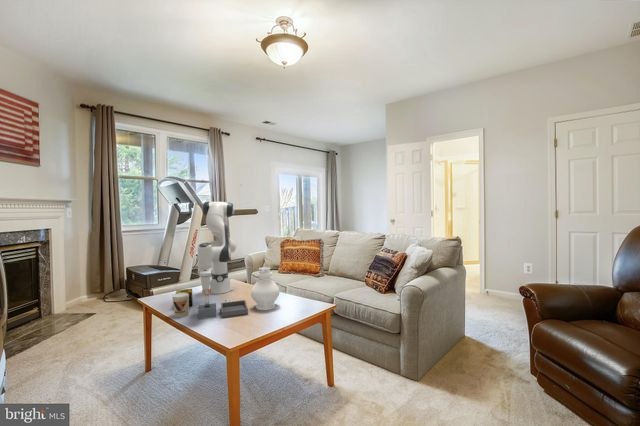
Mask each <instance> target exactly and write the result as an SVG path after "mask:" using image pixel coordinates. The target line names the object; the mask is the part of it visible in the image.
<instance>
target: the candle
mask: <svg viewBox="0 0 640 426" xmlns="http://www.w3.org/2000/svg"><path fill="white" fill-rule="evenodd" d="M179 293H188V294H189V308H192V307H193V304H194V302H193V301H194V300H193V288H184V289H183V288H182V289H176V292H175V294H179ZM175 294H174V295H175Z"/></svg>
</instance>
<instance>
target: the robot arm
mask: <svg viewBox="0 0 640 426" xmlns="http://www.w3.org/2000/svg"><path fill="white" fill-rule="evenodd" d="M235 210H236V209H235V206H234V204H233V203H232V202H226V201H205V202H203V204H202V206H201V211H202V214H203V216H204V217H205V216H206V219H205V225H206V228H207V229H208V230H210V231H211V234H212V235H213V236H215V237H216V238H219V240H211V241H206V242H203V243H200V244H198V246H197V254H196V255H197V261H198V264H197V274H198V275H199V277H200V281H201V289H202V290H205V294H208V289H211V295H212V294H216V295H217V294H219V295H220V294H225V293H228V292H231V291H234V288H233V287H232V286H231V279H230V278H229V271H228V262H229V261H230V260H231V257H232V254H233V253H235V251H236V249H237V244H236V242H235V241H234V240H233V239H232V238H231V237H230V234H229V233H230V232H229V228H228V218H231V217H232V216H233V215H234V214H235Z"/></svg>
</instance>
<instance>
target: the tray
mask: <svg viewBox="0 0 640 426" xmlns="http://www.w3.org/2000/svg"><path fill="white" fill-rule="evenodd" d="M220 306H221V308H220V309H221V319H226V318H227V319H228V318H234V317H240V316H246V315H247V316H248V315H249V308H248V305H247V301H246V300H245V299H242V300H241V299H240V300H235V301H225V302H221V303H220Z"/></svg>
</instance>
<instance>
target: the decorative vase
mask: <svg viewBox="0 0 640 426" xmlns="http://www.w3.org/2000/svg"><path fill="white" fill-rule="evenodd" d="M256 275H257V277H258V278H259V279H258V280H257V281H256V283H255V284H254V285H253V286H252V289H251V292H250V296H251V299H252V300H253V301H254V302H255V303H256V305H255V309H256V310H258V311H259V310H260V311H268V310H273V309H275V308H276V304H275V302H276V301H277V299H278V298H279V295H280V287H279V286H278V285H277V283H276V282H275V281H274V280H273V279H272V278H271V277H272V276H273V272H272V271H271V267H270V266H261V267H259V268H258V272H257V274H256Z"/></svg>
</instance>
